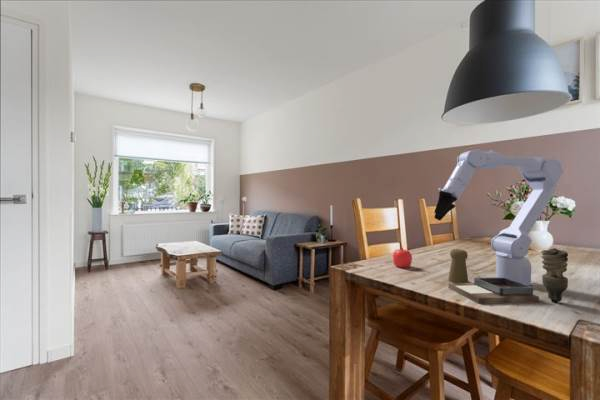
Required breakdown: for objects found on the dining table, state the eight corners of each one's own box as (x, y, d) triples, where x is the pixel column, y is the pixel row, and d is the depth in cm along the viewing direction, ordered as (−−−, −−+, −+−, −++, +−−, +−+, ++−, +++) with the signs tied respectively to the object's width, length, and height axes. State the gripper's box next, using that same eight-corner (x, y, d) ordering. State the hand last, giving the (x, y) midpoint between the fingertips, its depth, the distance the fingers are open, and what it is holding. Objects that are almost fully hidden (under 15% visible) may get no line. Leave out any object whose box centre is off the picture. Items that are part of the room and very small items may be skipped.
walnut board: (500, 286, 90) (500, 282, 90) (538, 301, 77) (538, 296, 77) (448, 287, 88) (448, 283, 88) (478, 303, 75) (478, 298, 75)
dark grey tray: (503, 283, 89) (503, 277, 89) (534, 294, 78) (534, 287, 78) (473, 284, 88) (473, 277, 87) (500, 295, 77) (500, 288, 77)
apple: (416, 268, 112) (416, 249, 112) (397, 269, 111) (398, 249, 111) (406, 264, 120) (406, 245, 120) (388, 264, 119) (389, 245, 119)
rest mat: (476, 285, 86) (476, 285, 86) (493, 293, 79) (493, 292, 79) (455, 286, 85) (455, 285, 85) (471, 294, 78) (471, 293, 78)
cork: (451, 283, 93) (451, 250, 93) (446, 278, 99) (446, 247, 99) (471, 284, 92) (471, 251, 92) (464, 279, 98) (465, 248, 97)
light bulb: (539, 301, 77) (540, 247, 77) (541, 296, 81) (542, 245, 81) (567, 307, 73) (568, 250, 73) (567, 302, 77) (569, 248, 77)
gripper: (444, 184, 102) (426, 215, 102) (446, 170, 89) (425, 206, 89) (464, 192, 98) (445, 225, 98) (469, 178, 86) (447, 216, 86)
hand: (437, 216), depth 93 cm, fingers open, 7 cm apart
